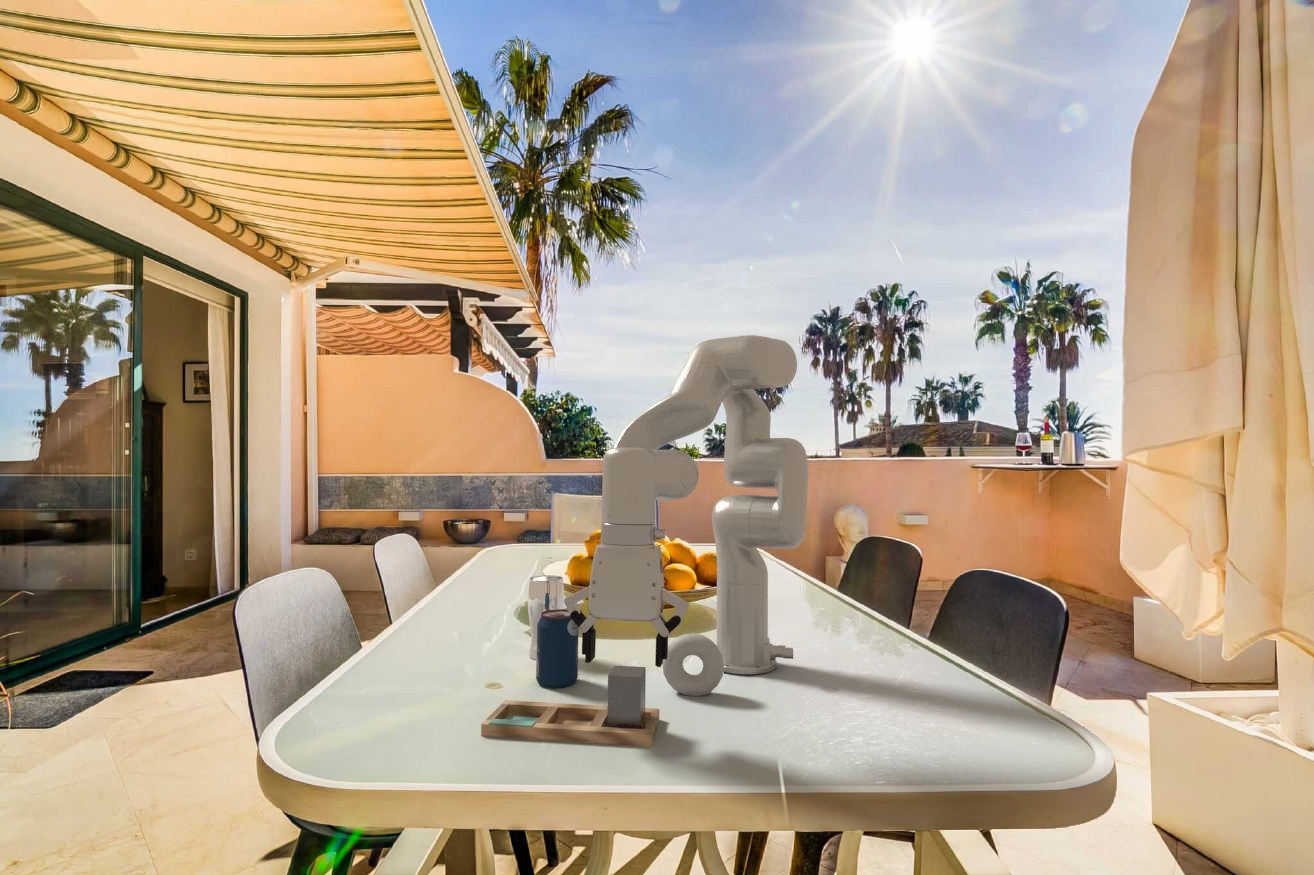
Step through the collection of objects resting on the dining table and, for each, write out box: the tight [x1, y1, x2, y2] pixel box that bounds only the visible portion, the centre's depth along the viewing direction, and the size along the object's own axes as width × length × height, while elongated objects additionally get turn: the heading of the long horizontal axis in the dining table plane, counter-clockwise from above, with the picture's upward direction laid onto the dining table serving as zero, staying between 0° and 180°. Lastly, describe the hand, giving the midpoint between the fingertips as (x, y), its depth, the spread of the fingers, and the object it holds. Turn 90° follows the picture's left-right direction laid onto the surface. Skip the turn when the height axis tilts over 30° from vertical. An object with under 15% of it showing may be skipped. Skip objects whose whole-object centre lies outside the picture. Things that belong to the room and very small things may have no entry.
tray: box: [480, 699, 661, 748], centre depth 89 cm, size 23×9×2 cm, turn 83°
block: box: [607, 665, 647, 729], centre depth 88 cm, size 4×4×8 cm
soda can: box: [535, 608, 580, 689], centre depth 108 cm, size 7×7×12 cm
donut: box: [661, 632, 724, 697], centre depth 103 cm, size 10×4×10 cm, turn 82°
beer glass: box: [527, 574, 565, 661], centre depth 124 cm, size 7×7×15 cm
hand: (624, 662), depth 88 cm, fingers open, 9 cm apart
